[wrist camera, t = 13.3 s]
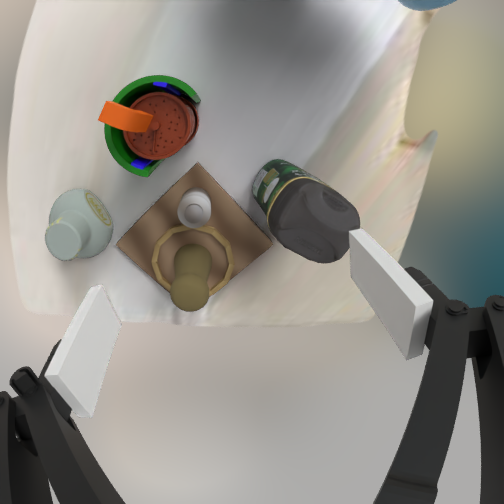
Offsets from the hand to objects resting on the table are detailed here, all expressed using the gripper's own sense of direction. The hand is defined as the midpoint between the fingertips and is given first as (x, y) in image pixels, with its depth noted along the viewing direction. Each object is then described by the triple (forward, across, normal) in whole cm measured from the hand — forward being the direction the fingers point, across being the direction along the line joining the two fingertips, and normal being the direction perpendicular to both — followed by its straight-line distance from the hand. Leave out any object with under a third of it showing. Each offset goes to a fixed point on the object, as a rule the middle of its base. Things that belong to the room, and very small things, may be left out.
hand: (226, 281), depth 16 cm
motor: (+33, -6, +8) cm, 34 cm away
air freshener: (+32, -23, -2) cm, 40 cm away
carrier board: (+32, -7, -11) cm, 35 cm away
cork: (+31, -8, -13) cm, 34 cm away
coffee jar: (+33, +9, -5) cm, 34 cm away
